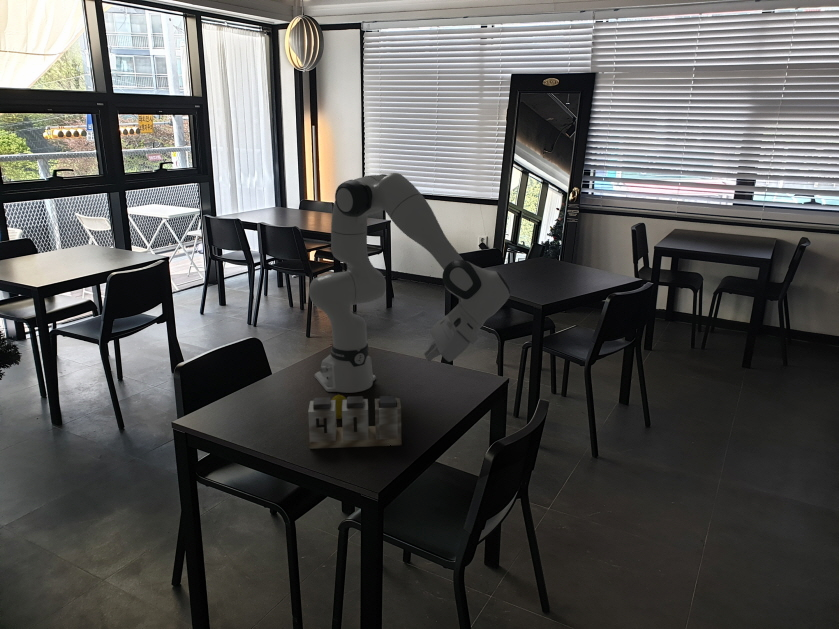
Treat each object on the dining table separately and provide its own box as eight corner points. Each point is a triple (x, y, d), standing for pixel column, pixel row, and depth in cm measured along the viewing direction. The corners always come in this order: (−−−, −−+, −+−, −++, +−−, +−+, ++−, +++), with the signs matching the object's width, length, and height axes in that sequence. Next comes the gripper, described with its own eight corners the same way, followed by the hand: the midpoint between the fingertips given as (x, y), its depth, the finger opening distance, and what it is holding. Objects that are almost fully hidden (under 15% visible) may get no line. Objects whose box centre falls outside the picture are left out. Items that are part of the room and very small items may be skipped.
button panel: (309, 448, 176) (307, 408, 172) (312, 433, 184) (310, 394, 181) (401, 445, 177) (401, 405, 174) (399, 429, 186) (399, 391, 182)
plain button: (380, 424, 178) (379, 403, 176) (379, 417, 182) (379, 396, 180) (396, 424, 178) (396, 402, 176) (395, 416, 182) (395, 395, 180)
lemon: (349, 414, 195) (348, 390, 193) (348, 423, 190) (347, 398, 188) (331, 415, 195) (330, 390, 193) (329, 423, 190) (328, 398, 187)
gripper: (447, 304, 183) (413, 338, 185) (462, 326, 164) (423, 364, 166) (462, 318, 185) (428, 351, 187) (478, 342, 166) (440, 379, 167)
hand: (426, 358), depth 176 cm, fingers closed
